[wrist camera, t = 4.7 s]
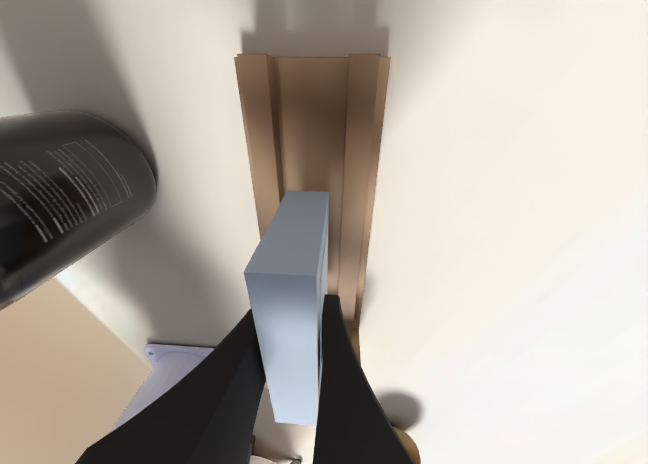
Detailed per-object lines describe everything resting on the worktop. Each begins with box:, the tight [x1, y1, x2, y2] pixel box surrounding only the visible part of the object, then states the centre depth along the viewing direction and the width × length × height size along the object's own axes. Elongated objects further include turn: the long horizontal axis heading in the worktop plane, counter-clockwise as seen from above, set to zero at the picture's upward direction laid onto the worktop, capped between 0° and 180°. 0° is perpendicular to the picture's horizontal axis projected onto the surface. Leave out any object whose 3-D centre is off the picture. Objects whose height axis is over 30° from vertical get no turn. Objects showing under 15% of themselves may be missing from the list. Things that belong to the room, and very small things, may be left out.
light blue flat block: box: [244, 190, 329, 426], centre depth 12 cm, size 9×2×6 cm, turn 0°
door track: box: [234, 54, 391, 389], centre depth 15 cm, size 20×7×5 cm, turn 0°
